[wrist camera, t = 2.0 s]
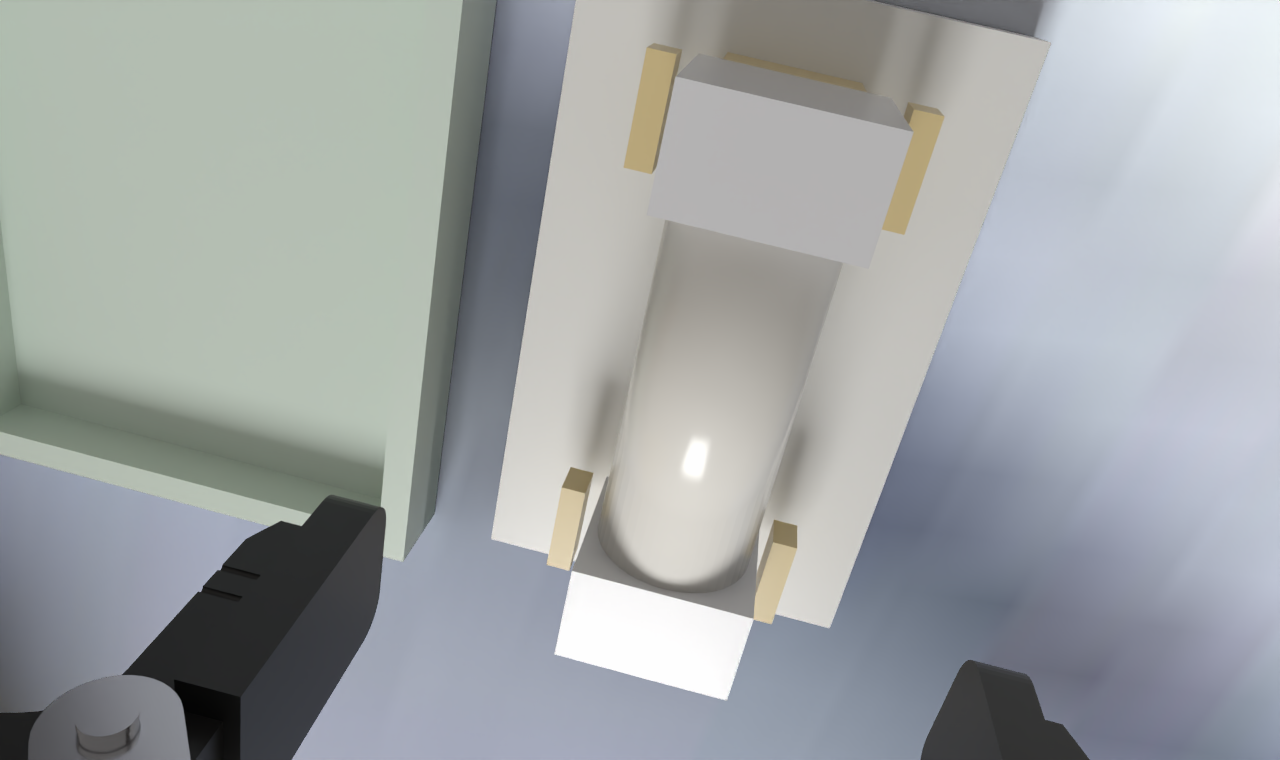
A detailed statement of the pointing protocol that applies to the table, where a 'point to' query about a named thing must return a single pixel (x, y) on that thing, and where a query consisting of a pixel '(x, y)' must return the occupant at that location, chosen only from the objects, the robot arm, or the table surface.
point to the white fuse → (724, 358)
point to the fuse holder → (863, 298)
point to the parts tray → (238, 245)
